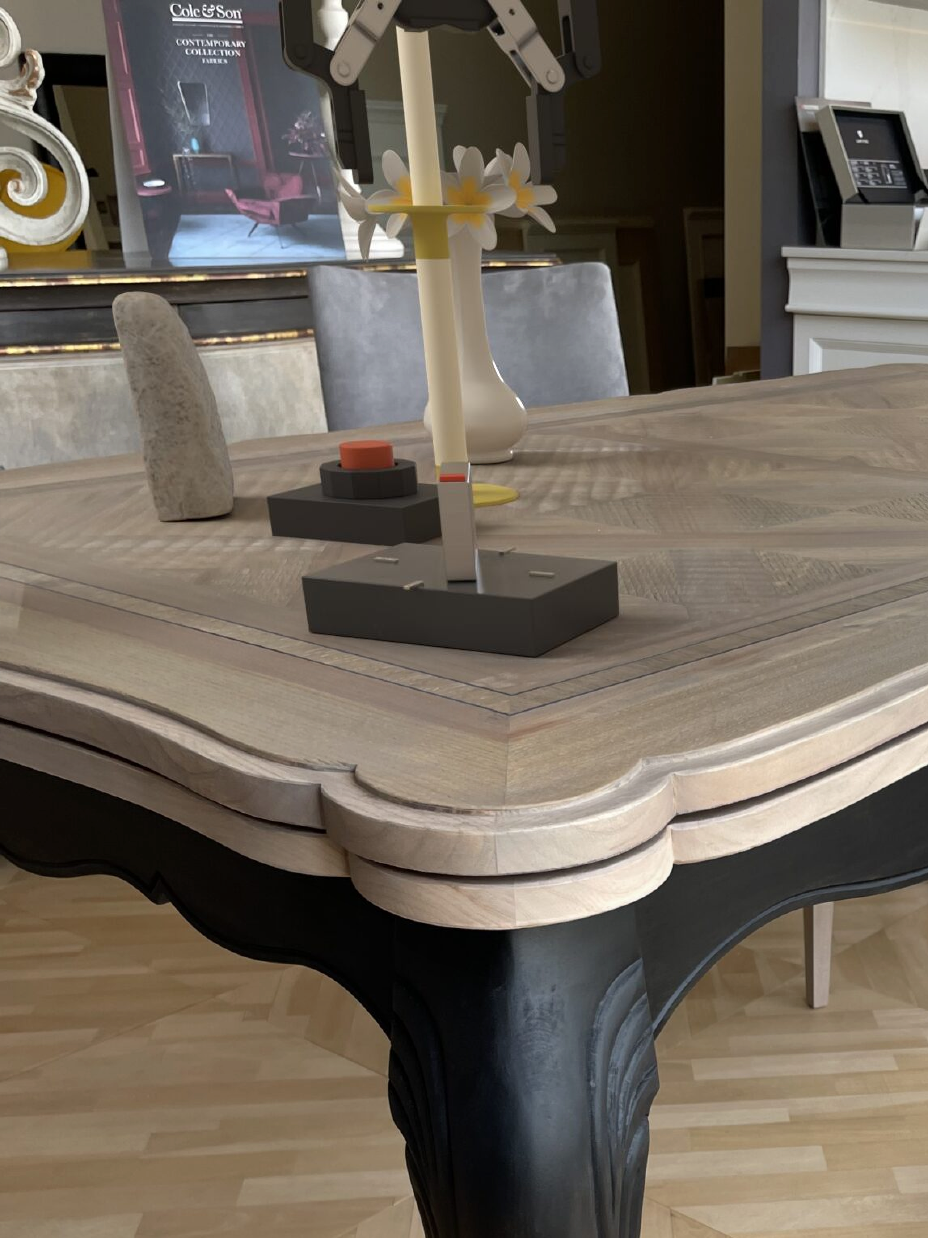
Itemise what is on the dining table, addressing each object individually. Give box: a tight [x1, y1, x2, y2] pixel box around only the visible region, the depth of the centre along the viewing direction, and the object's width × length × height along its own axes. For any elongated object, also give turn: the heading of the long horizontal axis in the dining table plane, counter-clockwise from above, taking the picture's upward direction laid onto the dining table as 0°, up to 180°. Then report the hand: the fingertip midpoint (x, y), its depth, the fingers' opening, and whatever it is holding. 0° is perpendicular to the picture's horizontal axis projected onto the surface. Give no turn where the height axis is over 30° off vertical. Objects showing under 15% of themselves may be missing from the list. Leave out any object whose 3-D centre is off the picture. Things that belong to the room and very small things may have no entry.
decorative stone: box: [111, 291, 235, 523], centre depth 111 cm, size 11×6×15 cm, turn 9°
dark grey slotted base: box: [300, 543, 620, 658], centre depth 84 cm, size 14×11×3 cm
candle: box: [368, 25, 519, 509], centre depth 111 cm, size 10×10×38 cm
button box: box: [266, 457, 442, 547], centre depth 107 cm, size 11×9×4 cm
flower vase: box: [332, 141, 558, 465], centre depth 132 cm, size 13×18×25 cm
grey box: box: [436, 462, 479, 581], centre depth 82 cm, size 7×2×5 cm, turn 9°
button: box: [338, 439, 395, 469], centre depth 106 cm, size 4×4×2 cm
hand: (454, 185), depth 72 cm, fingers open, 8 cm apart
